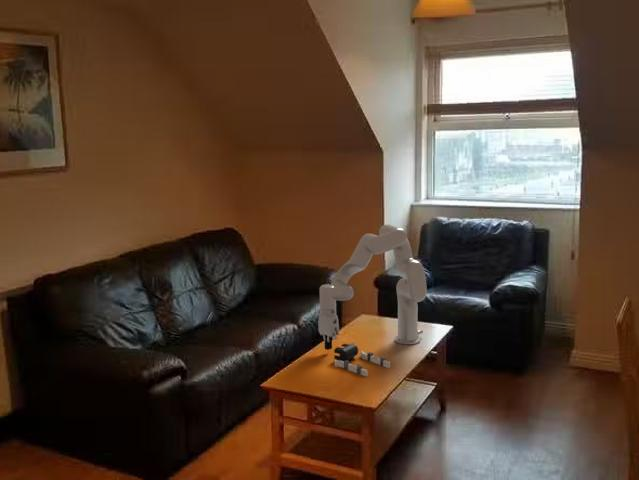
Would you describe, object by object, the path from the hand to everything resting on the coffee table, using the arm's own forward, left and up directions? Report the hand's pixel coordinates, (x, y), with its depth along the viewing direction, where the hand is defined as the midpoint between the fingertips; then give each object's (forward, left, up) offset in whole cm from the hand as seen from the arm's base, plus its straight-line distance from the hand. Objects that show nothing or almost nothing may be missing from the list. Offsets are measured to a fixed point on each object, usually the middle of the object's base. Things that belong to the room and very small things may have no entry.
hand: (328, 348), depth 315 cm
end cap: (0, +12, -3) cm, 12 cm away
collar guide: (0, +23, -2) cm, 23 cm away
